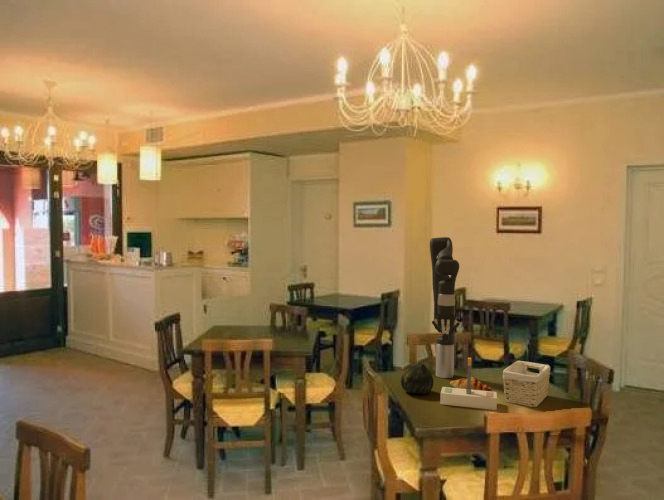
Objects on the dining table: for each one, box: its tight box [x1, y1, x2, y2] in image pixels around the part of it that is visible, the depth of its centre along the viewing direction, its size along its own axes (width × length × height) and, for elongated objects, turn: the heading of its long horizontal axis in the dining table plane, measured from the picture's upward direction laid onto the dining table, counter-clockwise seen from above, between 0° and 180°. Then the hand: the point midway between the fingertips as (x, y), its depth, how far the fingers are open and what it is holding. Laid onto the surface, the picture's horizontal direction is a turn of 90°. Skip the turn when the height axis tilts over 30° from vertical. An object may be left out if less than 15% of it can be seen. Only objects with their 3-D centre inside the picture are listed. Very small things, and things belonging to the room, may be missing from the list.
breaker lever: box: [466, 357, 472, 389], centre depth 243 cm, size 3×2×14 cm, turn 164°
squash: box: [400, 363, 434, 395], centre depth 259 cm, size 14×15×15 cm
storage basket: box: [502, 360, 551, 408], centre depth 252 cm, size 24×16×15 cm
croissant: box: [449, 376, 492, 391], centre depth 264 cm, size 21×10×8 cm, turn 53°
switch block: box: [439, 386, 498, 411], centre depth 249 cm, size 20×24×7 cm
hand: (445, 342), depth 246 cm, fingers closed
